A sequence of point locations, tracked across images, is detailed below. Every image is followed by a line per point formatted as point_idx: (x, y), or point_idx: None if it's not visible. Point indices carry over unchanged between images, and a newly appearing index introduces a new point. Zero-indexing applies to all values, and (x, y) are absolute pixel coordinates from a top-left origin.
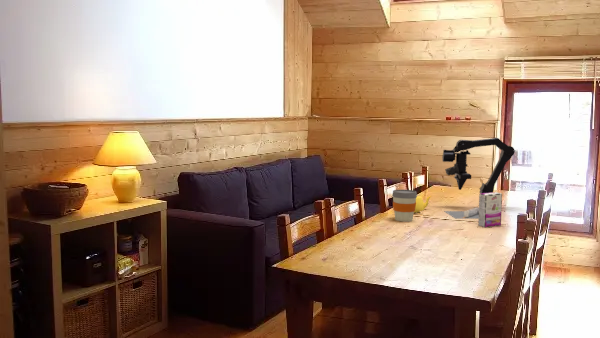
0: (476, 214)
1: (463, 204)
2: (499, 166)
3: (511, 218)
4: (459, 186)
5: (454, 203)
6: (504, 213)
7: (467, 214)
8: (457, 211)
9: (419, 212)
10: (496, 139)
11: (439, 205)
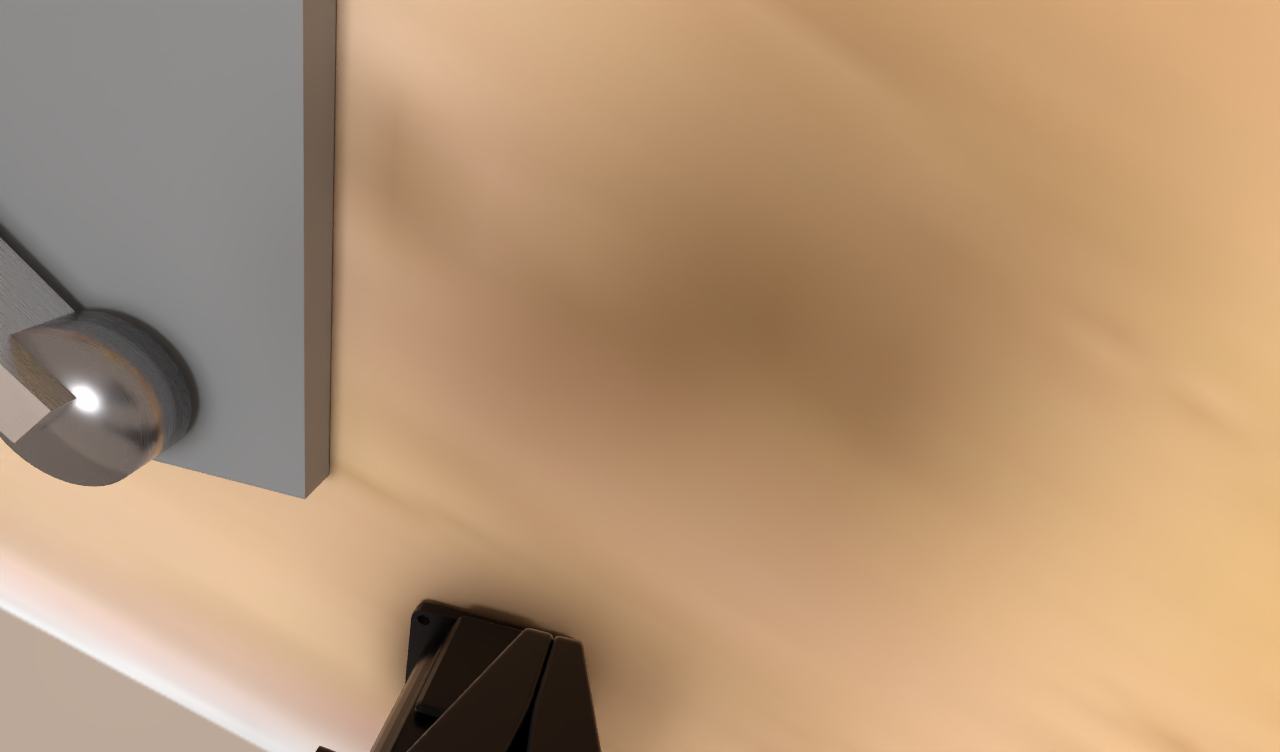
0: None
1: (1098, 701)
2: None
3: (70, 643)
4: (434, 730)
5: (1262, 639)
6: (360, 747)
7: None
8: (273, 109)
9: None
10: None
11: (1275, 271)
